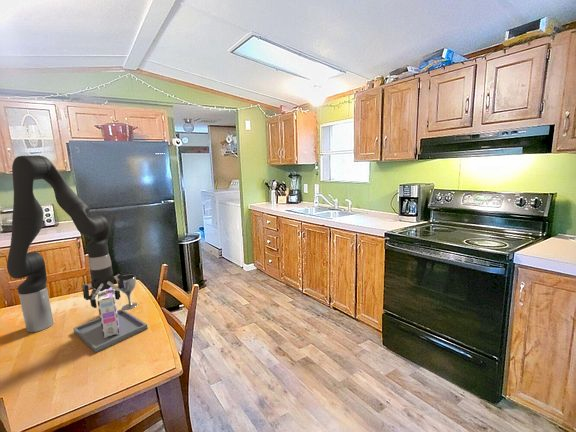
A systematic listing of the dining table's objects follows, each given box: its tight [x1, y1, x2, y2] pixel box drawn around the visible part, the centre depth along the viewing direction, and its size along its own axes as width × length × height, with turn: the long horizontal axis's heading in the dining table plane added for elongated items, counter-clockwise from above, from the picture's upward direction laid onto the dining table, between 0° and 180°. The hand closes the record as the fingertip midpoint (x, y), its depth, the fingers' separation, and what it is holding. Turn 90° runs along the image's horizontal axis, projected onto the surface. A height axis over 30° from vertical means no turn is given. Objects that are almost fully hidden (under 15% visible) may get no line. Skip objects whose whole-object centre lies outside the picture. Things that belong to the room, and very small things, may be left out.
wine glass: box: [116, 273, 138, 311], centre depth 144 cm, size 8×8×15 cm
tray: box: [72, 308, 148, 354], centre depth 124 cm, size 24×20×2 cm
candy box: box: [97, 287, 120, 338], centre depth 123 cm, size 14×6×16 cm, turn 31°
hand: (106, 303), depth 122 cm, fingers open, 8 cm apart
